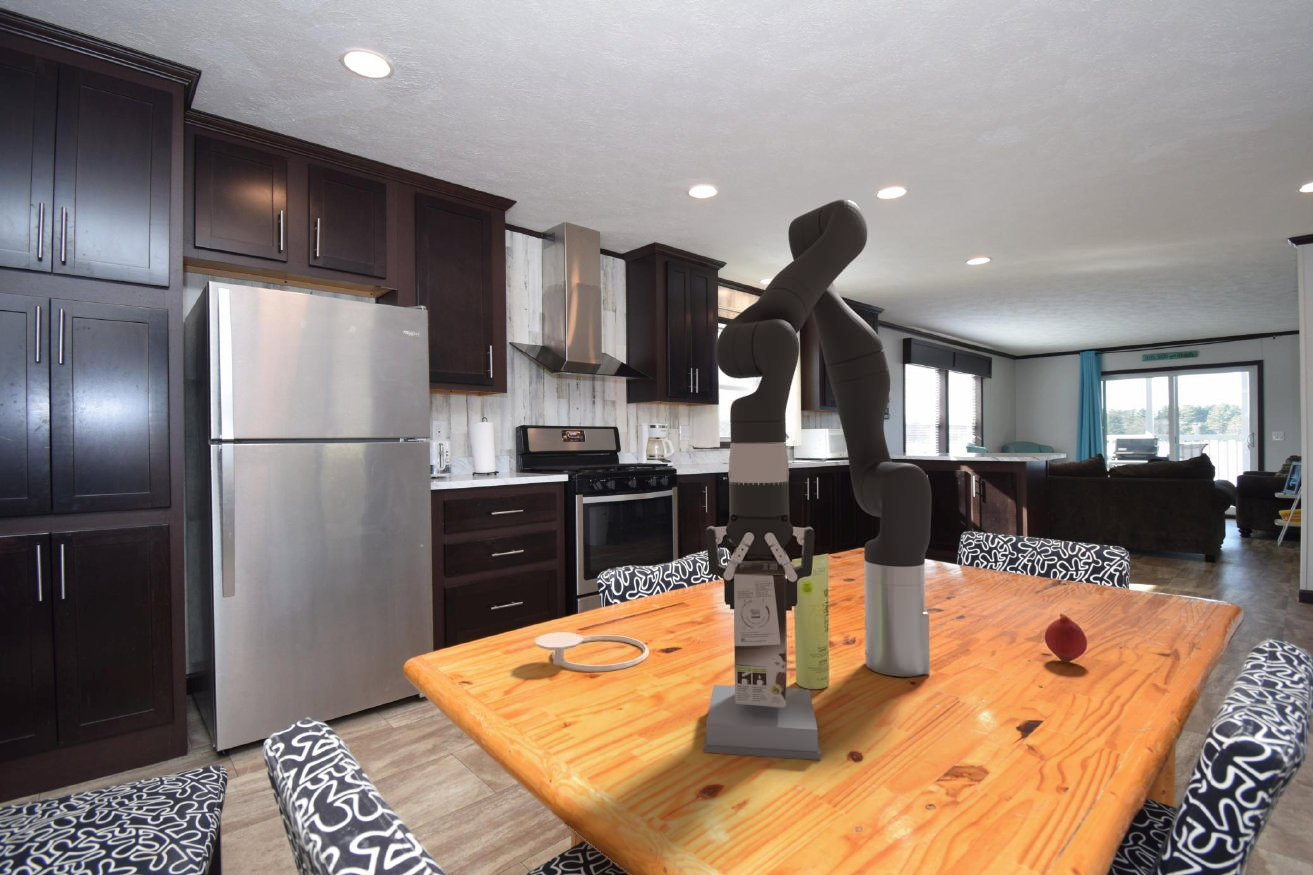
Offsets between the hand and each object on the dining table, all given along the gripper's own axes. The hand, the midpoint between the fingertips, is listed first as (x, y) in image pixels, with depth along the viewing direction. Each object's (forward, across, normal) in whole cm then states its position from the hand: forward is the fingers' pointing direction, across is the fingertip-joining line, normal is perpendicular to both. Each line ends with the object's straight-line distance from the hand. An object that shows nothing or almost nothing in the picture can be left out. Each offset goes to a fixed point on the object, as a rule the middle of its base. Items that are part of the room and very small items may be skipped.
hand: (760, 608), depth 82 cm
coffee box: (+11, 0, 0) cm, 11 cm away
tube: (+16, -7, -17) cm, 24 cm away
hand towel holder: (+16, +29, -25) cm, 42 cm away
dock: (+16, 0, 0) cm, 16 cm away
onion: (+16, -49, -32) cm, 61 cm away
